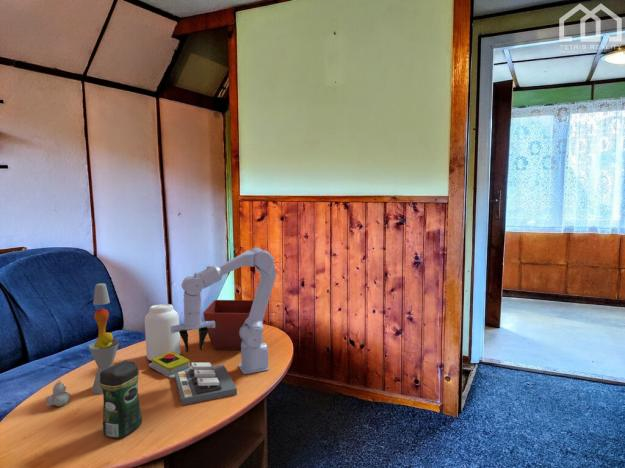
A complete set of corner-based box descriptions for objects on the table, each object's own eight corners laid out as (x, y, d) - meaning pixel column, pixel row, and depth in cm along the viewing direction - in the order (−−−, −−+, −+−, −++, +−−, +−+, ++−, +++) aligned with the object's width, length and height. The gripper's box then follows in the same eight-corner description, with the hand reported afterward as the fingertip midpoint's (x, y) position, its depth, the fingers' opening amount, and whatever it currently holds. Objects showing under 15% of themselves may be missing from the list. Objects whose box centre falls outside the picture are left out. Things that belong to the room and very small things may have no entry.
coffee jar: (124, 417, 123) (121, 356, 121) (146, 423, 120) (143, 360, 118) (97, 436, 114) (93, 369, 112) (120, 442, 111) (116, 374, 109)
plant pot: (251, 354, 170) (250, 312, 168) (203, 353, 170) (202, 312, 168) (258, 337, 189) (257, 299, 187) (215, 336, 189) (214, 299, 187)
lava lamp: (84, 391, 139) (78, 286, 135) (106, 379, 147) (101, 280, 143) (106, 396, 136) (100, 288, 132) (127, 383, 144) (122, 282, 140)
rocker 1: (209, 365, 151) (209, 362, 151) (211, 369, 148) (211, 366, 148) (191, 365, 148) (191, 362, 148) (192, 369, 145) (193, 366, 145)
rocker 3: (216, 380, 139) (217, 377, 139) (218, 385, 136) (219, 381, 136) (196, 380, 136) (197, 377, 136) (198, 385, 133) (199, 382, 133)
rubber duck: (73, 403, 131) (72, 378, 130) (50, 413, 126) (48, 387, 125) (65, 398, 134) (63, 374, 133) (42, 407, 129) (40, 382, 128)
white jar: (160, 363, 157) (157, 310, 156) (140, 358, 164) (136, 307, 163) (187, 354, 168) (184, 303, 167) (167, 349, 175) (164, 301, 174)
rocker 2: (212, 372, 145) (213, 369, 145) (214, 376, 142) (215, 373, 142) (193, 372, 142) (194, 369, 142) (195, 377, 139) (195, 373, 139)
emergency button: (170, 346, 163) (194, 358, 154) (170, 357, 164) (194, 370, 155) (148, 354, 156) (172, 367, 147) (148, 365, 156) (172, 379, 147)
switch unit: (223, 369, 155) (223, 360, 155) (237, 394, 137) (236, 383, 136) (174, 378, 148) (174, 368, 148) (181, 405, 130) (181, 393, 130)
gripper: (171, 317, 138) (173, 357, 140) (216, 312, 144) (217, 351, 146) (169, 311, 145) (171, 350, 146) (212, 306, 151) (213, 344, 152)
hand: (194, 350), depth 146 cm, fingers open, 4 cm apart
